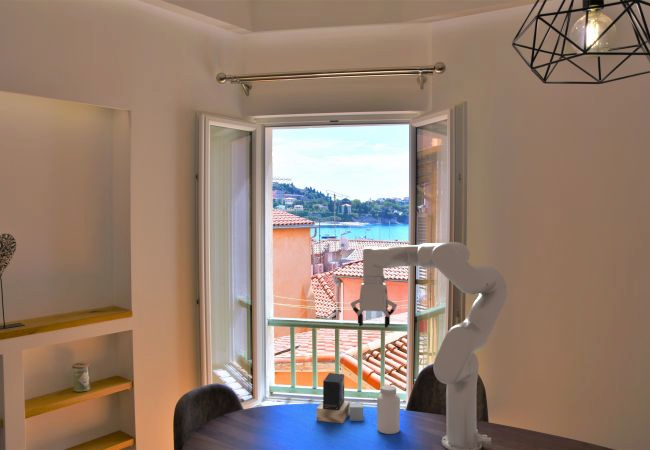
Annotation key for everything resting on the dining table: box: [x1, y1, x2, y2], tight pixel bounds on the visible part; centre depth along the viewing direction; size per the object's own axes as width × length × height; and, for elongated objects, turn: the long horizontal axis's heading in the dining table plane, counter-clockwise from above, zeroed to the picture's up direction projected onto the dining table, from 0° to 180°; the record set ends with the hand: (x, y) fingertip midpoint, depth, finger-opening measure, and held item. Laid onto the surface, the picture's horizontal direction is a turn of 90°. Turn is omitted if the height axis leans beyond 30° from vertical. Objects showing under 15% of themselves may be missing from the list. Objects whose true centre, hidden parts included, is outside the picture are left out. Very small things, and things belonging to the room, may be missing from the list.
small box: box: [322, 372, 345, 410], centre depth 192 cm, size 11×6×10 cm, turn 167°
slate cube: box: [349, 401, 364, 422], centre depth 191 cm, size 5×5×5 cm
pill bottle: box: [376, 384, 401, 435], centre depth 180 cm, size 8×8×15 cm
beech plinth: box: [316, 400, 350, 424], centre depth 192 cm, size 10×10×4 cm
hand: (373, 326), depth 190 cm, fingers open, 9 cm apart
